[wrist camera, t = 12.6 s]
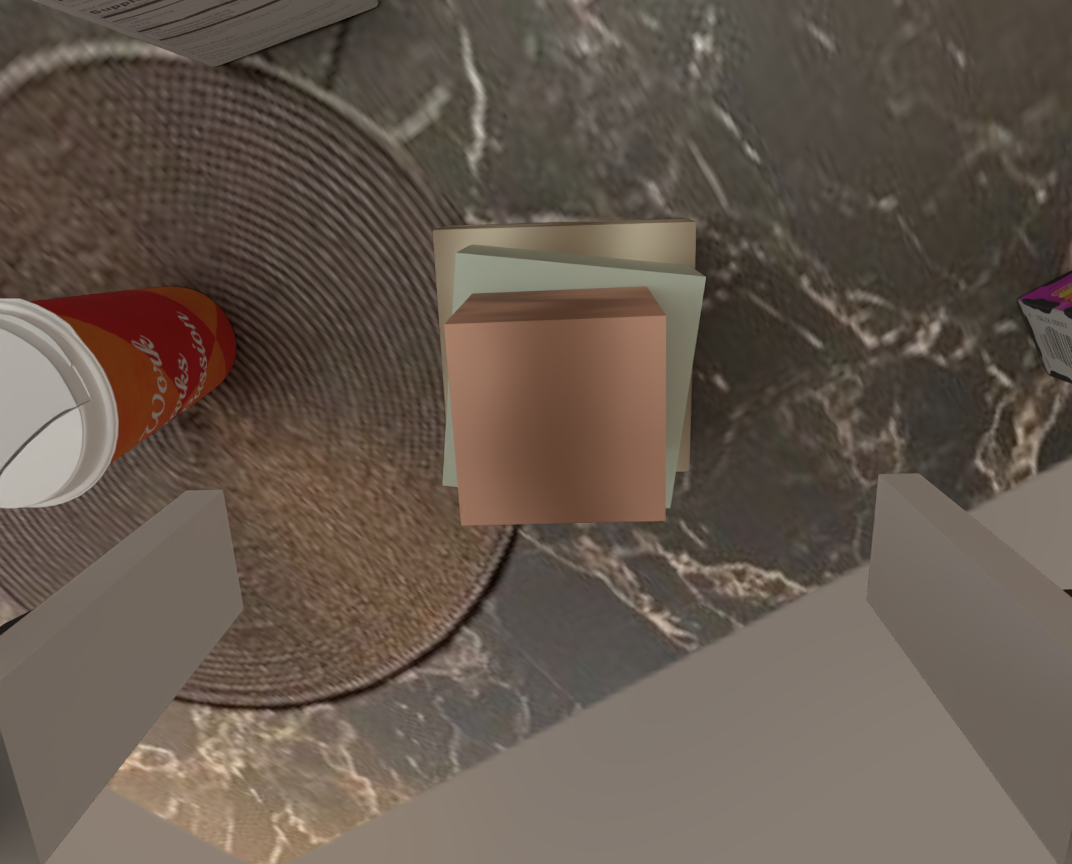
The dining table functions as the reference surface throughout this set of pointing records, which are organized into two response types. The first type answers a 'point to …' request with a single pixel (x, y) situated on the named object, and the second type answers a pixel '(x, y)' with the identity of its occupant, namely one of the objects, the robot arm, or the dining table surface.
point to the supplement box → (212, 22)
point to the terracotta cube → (559, 406)
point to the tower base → (581, 238)
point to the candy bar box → (1052, 324)
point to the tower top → (561, 271)
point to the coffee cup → (98, 382)
